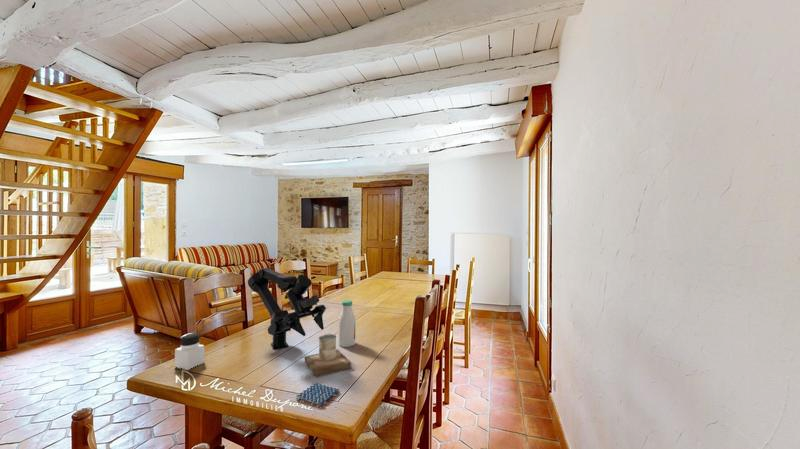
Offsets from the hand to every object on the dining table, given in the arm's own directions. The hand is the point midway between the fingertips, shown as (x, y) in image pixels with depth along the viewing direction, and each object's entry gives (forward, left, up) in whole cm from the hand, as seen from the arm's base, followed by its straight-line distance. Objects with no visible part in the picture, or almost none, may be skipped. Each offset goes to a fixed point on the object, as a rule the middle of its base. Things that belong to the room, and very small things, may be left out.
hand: (314, 332), depth 130 cm
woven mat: (+27, -7, -12) cm, 31 cm away
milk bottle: (-9, +18, -12) cm, 23 cm away
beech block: (+7, +3, -9) cm, 12 cm away
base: (+7, +3, -11) cm, 14 cm away
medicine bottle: (-21, -43, -12) cm, 49 cm away
